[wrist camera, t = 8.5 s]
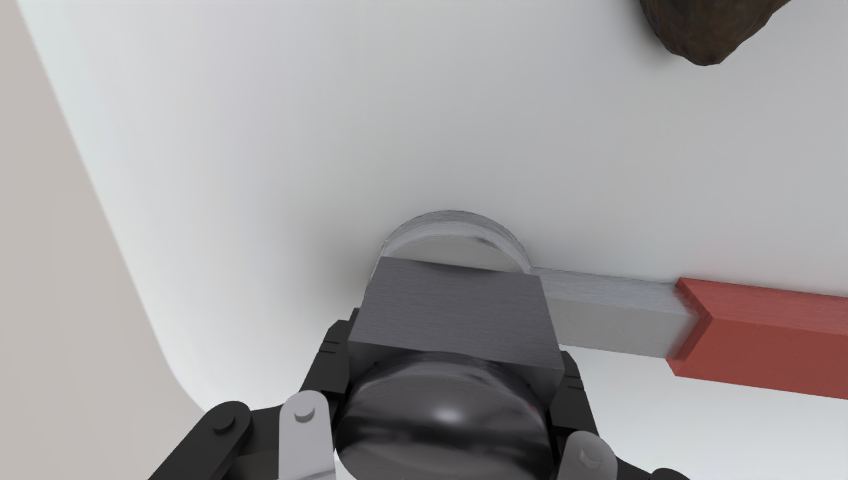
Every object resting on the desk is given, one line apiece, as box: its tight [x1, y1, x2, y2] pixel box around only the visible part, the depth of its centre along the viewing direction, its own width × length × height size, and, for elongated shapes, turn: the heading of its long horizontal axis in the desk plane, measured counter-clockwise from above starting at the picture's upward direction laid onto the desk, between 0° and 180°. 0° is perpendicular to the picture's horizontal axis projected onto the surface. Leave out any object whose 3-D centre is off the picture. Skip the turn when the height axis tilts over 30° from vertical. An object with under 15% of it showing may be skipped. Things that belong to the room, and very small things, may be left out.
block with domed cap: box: [335, 256, 565, 480], centre depth 12 cm, size 6×6×5 cm
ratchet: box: [364, 211, 848, 400], centre depth 14 cm, size 22×7×6 cm, turn 86°
